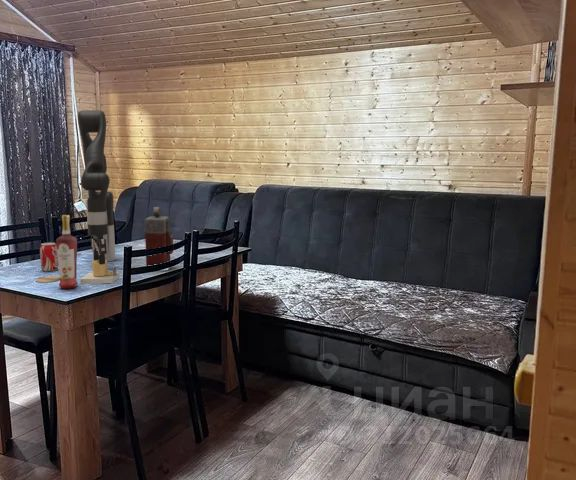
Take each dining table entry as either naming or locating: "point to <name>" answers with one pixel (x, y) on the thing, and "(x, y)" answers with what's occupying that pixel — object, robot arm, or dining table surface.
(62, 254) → the liquor
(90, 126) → the robot arm
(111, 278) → the bayonet post
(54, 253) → the soda can
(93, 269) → the cap
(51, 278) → the coaster
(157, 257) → the glass decanter
